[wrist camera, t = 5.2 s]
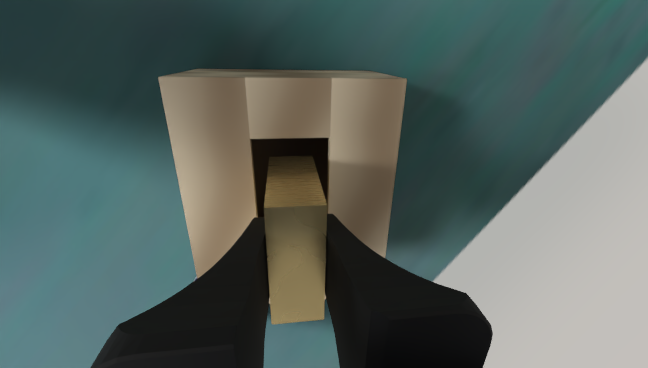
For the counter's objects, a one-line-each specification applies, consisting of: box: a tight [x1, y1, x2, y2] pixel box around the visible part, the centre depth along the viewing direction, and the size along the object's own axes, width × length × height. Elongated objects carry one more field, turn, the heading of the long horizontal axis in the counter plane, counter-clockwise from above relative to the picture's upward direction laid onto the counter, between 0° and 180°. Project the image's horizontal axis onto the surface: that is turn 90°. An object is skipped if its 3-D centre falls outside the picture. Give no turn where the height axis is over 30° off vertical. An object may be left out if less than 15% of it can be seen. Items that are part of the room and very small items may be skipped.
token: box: [264, 156, 327, 324], centre depth 13 cm, size 2×5×5 cm, turn 179°
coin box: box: [158, 69, 407, 304], centre depth 17 cm, size 10×12×6 cm
